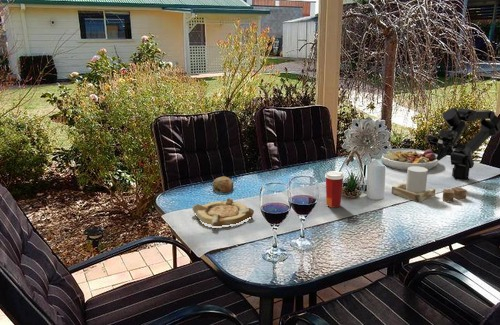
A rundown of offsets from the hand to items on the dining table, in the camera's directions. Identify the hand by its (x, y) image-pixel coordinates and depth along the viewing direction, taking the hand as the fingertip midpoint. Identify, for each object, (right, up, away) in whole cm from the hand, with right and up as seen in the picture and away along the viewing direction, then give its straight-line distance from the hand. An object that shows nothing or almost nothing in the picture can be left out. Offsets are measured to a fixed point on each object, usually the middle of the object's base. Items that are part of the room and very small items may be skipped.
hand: (437, 159), depth 195 cm
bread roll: (-99, -14, +5) cm, 100 cm away
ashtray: (-97, -23, -26) cm, 103 cm away
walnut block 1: (-2, -17, -14) cm, 22 cm away
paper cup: (-51, -19, -17) cm, 57 cm away
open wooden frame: (-14, -15, -7) cm, 21 cm away
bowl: (0, -2, +38) cm, 38 cm away
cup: (-13, -16, -8) cm, 22 cm away
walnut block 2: (+4, -17, -12) cm, 21 cm away
